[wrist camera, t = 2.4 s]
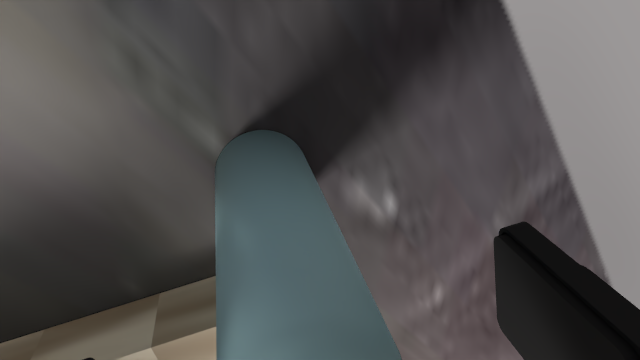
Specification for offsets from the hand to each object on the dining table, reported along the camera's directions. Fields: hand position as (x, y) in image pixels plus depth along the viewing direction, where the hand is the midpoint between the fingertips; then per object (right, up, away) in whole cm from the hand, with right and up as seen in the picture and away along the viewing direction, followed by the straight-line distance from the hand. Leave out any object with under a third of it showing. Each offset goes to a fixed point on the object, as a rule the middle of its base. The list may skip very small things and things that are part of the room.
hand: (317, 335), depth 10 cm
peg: (-2, +4, +7) cm, 8 cm away
